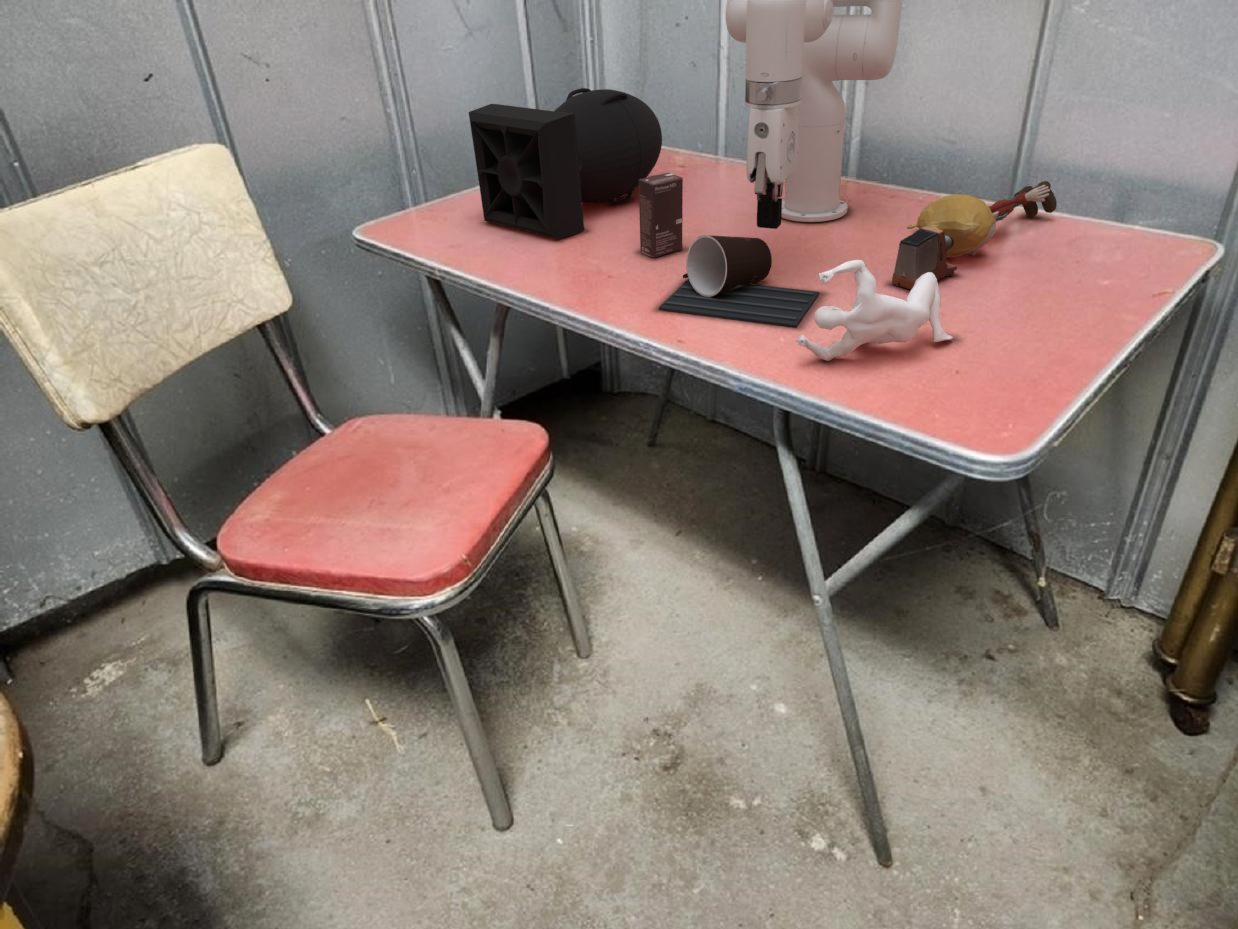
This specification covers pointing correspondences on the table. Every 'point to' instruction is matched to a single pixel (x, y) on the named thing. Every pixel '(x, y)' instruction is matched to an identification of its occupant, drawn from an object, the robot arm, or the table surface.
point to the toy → (980, 216)
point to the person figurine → (877, 313)
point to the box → (660, 214)
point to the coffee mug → (726, 263)
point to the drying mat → (745, 304)
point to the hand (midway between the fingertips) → (768, 226)
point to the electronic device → (922, 257)
